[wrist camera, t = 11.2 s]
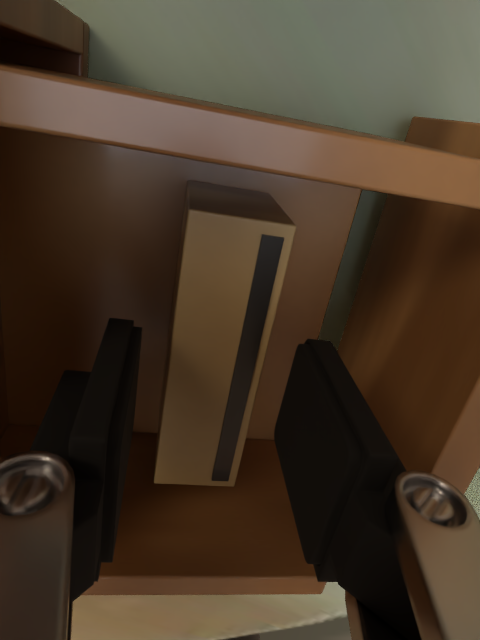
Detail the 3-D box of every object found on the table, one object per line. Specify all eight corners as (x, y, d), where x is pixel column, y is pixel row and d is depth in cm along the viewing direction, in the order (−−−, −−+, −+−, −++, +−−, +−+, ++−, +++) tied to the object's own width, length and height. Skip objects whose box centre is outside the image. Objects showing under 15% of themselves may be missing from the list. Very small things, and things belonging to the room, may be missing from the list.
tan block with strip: (270, 193, 13) (298, 226, 9) (225, 411, 16) (234, 489, 13) (187, 179, 12) (187, 209, 9) (159, 407, 16) (153, 486, 13)
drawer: (565, 148, 14) (846, 189, 8) (417, 457, 20) (517, 614, 14) (-35, 21, 11) (-300, -65, 5) (-1, 433, 17) (-104, 622, 11)
